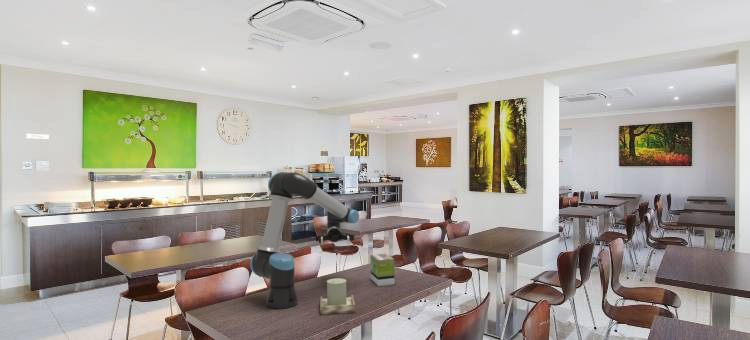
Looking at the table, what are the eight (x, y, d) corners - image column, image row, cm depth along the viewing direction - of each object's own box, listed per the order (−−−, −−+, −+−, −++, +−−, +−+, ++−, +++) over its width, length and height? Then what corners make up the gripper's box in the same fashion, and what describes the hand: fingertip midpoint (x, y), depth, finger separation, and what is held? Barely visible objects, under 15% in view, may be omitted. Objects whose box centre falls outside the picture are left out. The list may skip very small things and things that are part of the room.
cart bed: (320, 314, 183) (320, 306, 183) (320, 303, 199) (320, 295, 199) (355, 312, 185) (355, 304, 185) (352, 301, 201) (352, 294, 201)
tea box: (370, 279, 240) (369, 254, 240) (386, 277, 243) (386, 252, 243) (377, 286, 226) (377, 259, 225) (395, 284, 229) (394, 258, 228)
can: (323, 306, 190) (322, 281, 190) (334, 301, 198) (334, 276, 198) (339, 310, 186) (338, 283, 186) (350, 304, 194) (350, 278, 194)
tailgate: (320, 303, 198) (320, 301, 198) (320, 300, 203) (320, 298, 203) (352, 301, 200) (352, 299, 200) (352, 298, 205) (352, 296, 205)
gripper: (356, 240, 233) (359, 247, 212) (311, 241, 230) (310, 249, 209) (356, 227, 233) (359, 232, 212) (311, 228, 230) (310, 234, 209)
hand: (335, 240), depth 210 cm, fingers open, 13 cm apart
